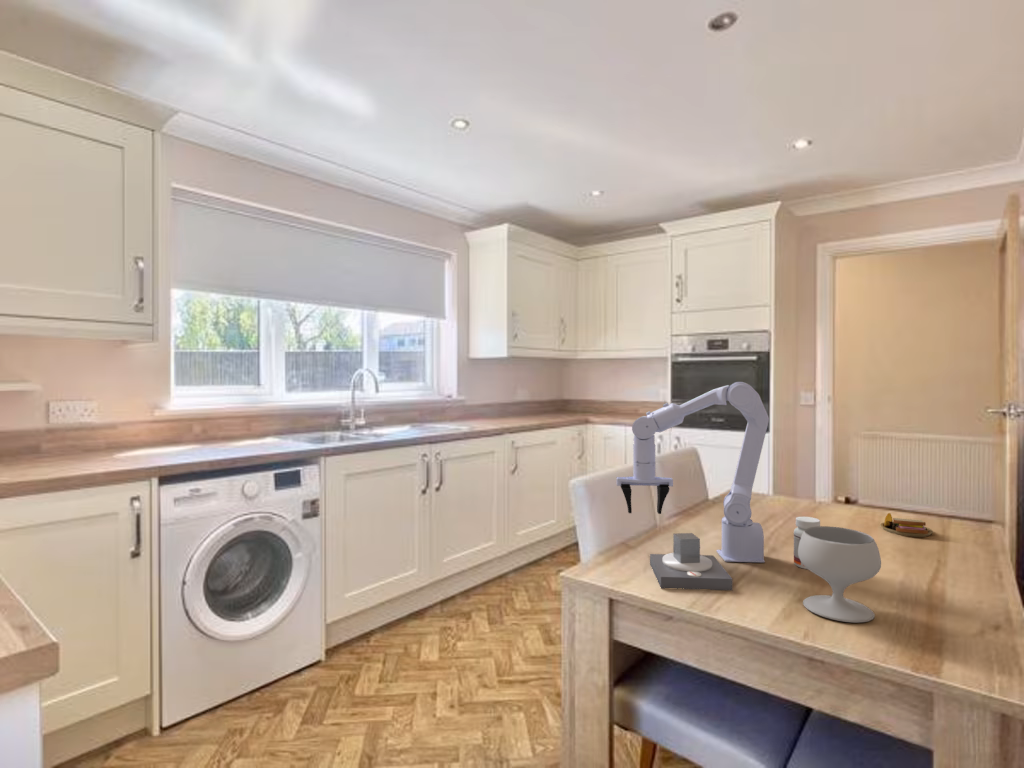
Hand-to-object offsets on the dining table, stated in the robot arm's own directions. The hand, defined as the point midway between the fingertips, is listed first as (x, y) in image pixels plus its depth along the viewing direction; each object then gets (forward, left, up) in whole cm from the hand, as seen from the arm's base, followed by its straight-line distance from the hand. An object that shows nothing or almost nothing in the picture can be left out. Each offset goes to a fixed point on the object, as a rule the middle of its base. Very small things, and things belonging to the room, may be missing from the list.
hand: (644, 512), depth 147 cm
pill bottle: (-37, +11, -10) cm, 40 cm away
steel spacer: (-7, +18, -6) cm, 20 cm away
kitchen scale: (-7, +20, -9) cm, 23 cm away
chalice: (-32, +36, -10) cm, 49 cm away
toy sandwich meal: (-78, -20, -10) cm, 81 cm away
